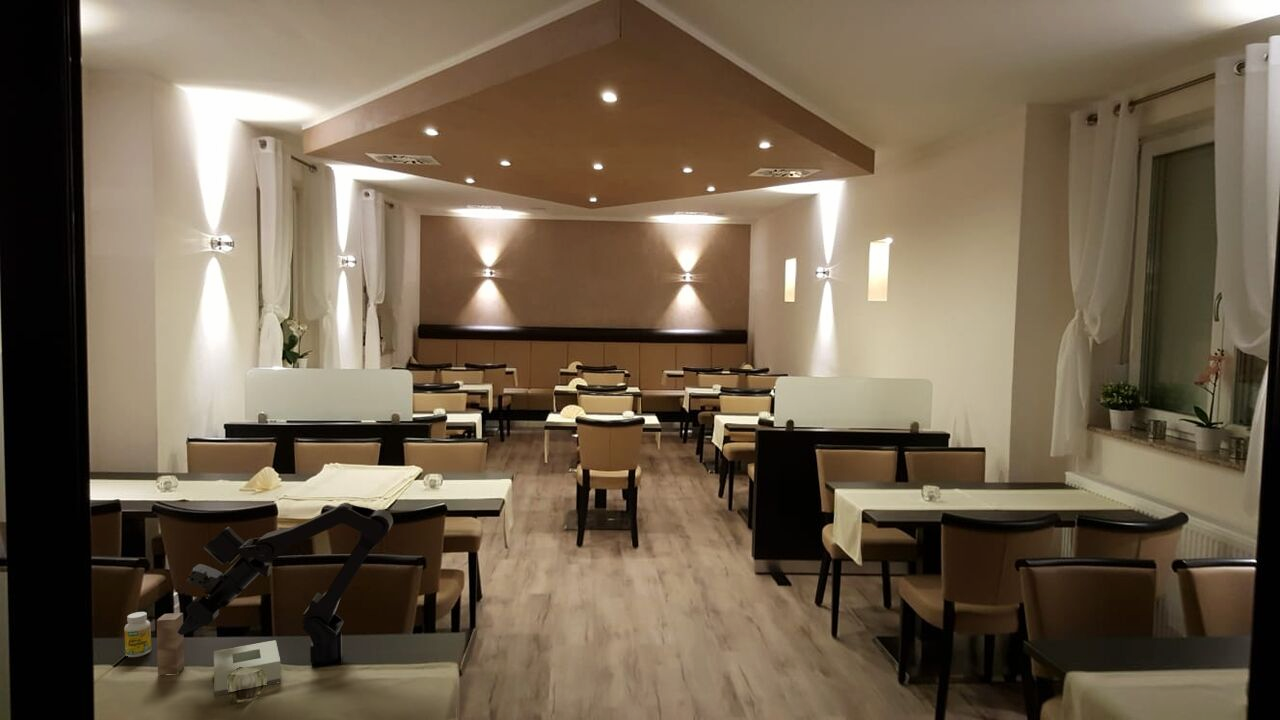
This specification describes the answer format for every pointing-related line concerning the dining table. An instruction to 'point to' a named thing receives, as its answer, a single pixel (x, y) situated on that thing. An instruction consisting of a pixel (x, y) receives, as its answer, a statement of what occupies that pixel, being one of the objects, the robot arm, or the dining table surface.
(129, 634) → the supplement bottle
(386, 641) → the dining table surface
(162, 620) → the walnut peg
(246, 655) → the socket block
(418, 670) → the dining table surface
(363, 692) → the dining table surface
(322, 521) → the robot arm
